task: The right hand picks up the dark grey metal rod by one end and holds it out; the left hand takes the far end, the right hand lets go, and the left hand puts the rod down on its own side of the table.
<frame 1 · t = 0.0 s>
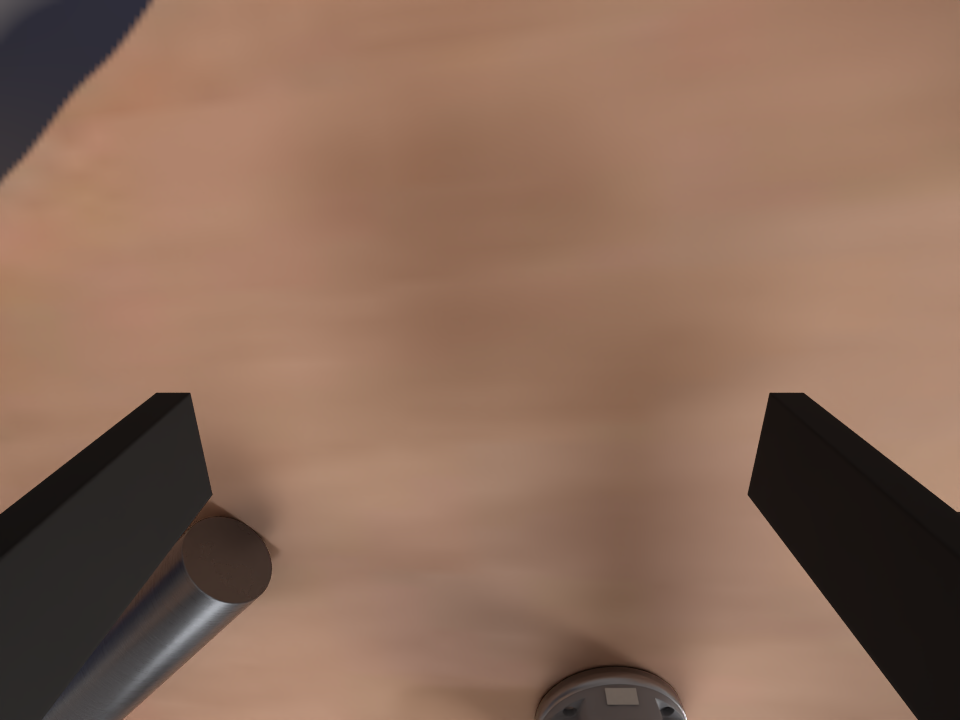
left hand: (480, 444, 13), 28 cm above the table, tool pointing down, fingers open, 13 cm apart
rod: (164, 607, 51), on the table
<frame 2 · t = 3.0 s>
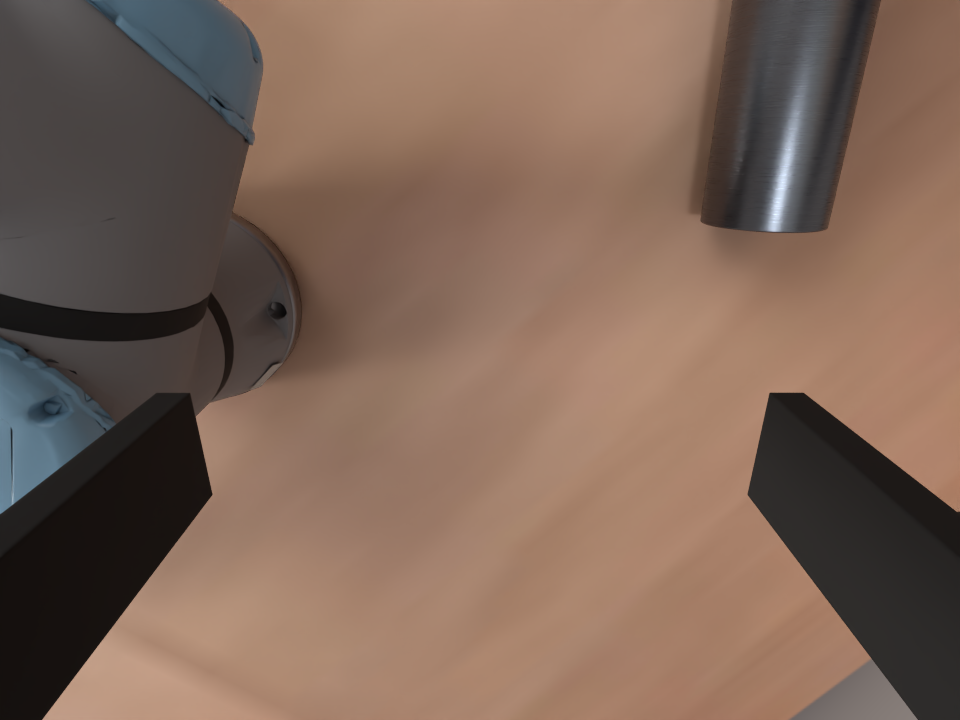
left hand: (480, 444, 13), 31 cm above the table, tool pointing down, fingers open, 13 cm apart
rod: (771, 10, 36), on the table, touching right hand
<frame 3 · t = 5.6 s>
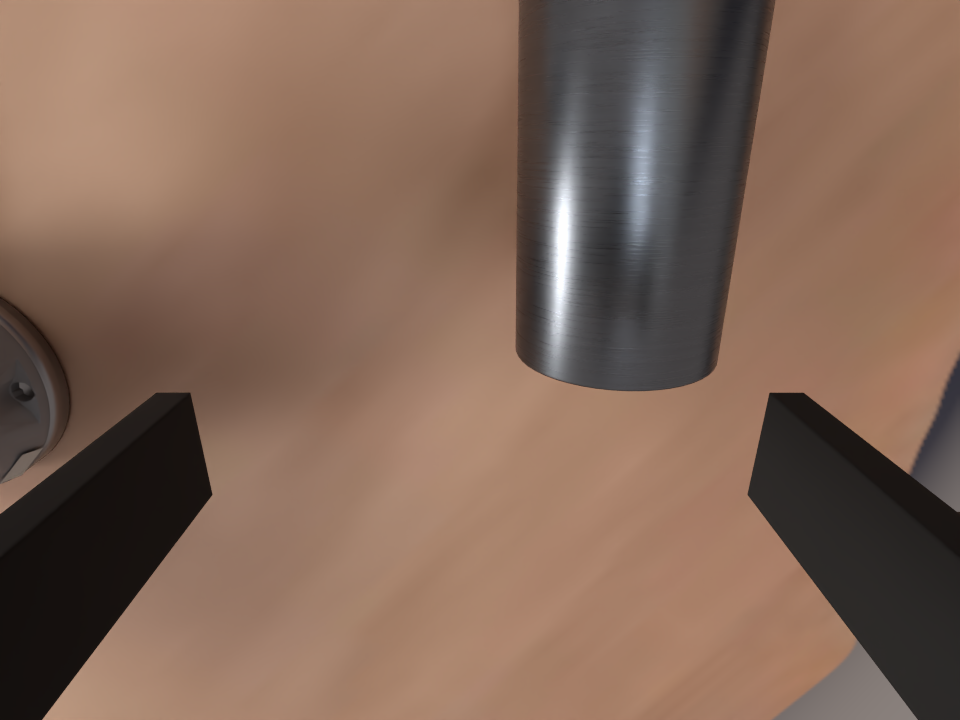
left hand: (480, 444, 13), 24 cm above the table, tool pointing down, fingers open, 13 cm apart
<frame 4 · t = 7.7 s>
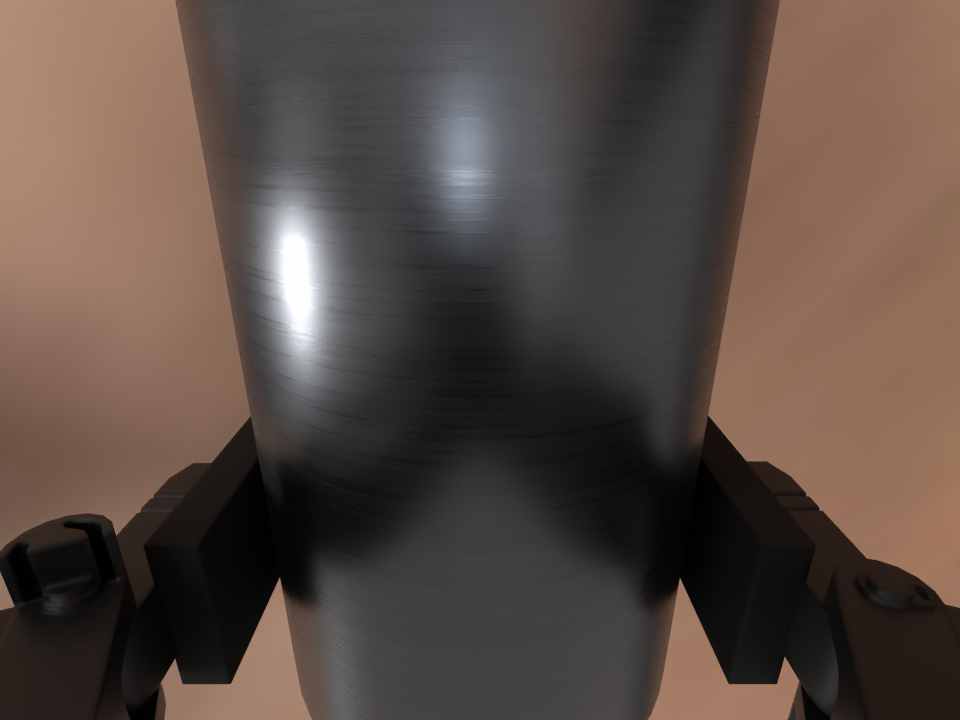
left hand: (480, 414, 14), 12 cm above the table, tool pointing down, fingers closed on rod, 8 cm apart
when the right hand's fingers open (11 cm above the table, at t = 8.6 s): rod stays where it is, held by the left hand.
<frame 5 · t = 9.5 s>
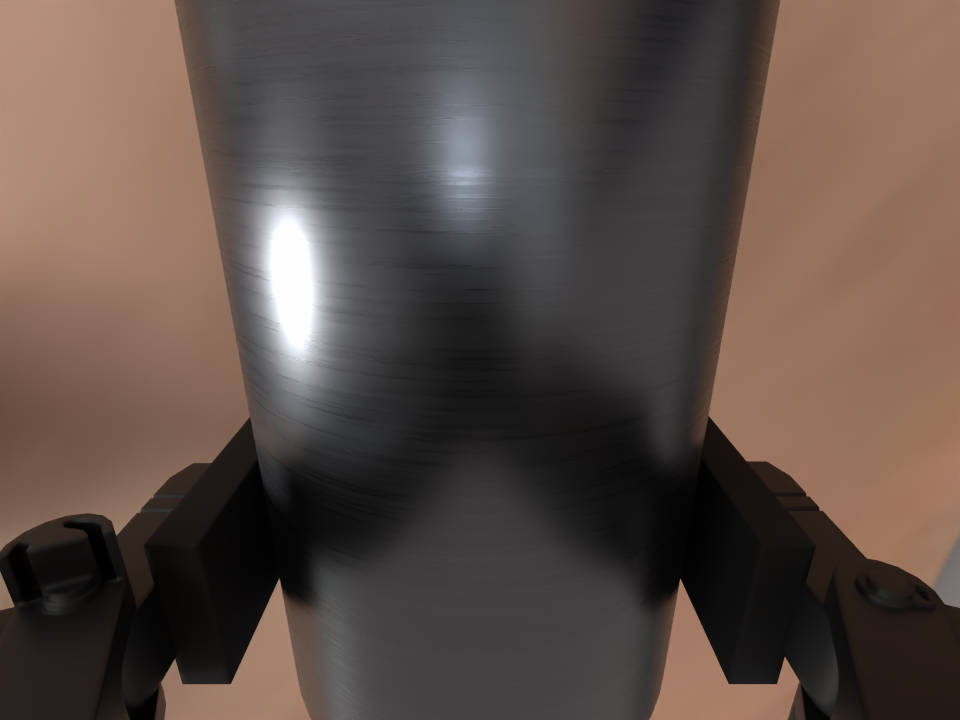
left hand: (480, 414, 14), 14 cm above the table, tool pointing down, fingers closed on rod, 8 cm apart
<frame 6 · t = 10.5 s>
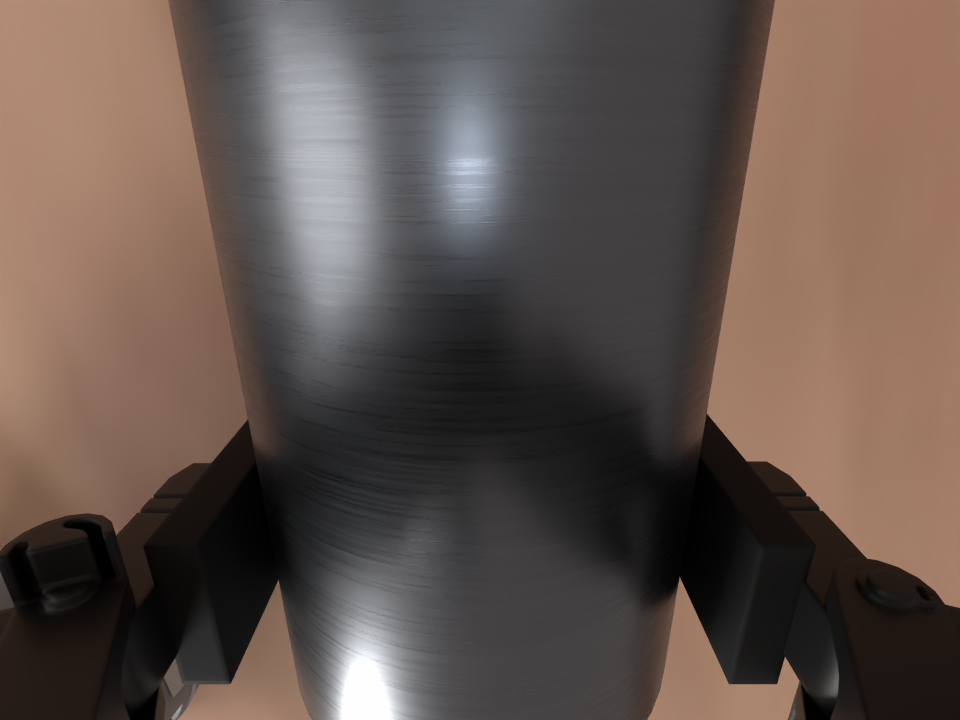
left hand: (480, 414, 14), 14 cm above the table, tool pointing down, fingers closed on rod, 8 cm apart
when the left hand's fingers open (2 cm above the table, at t = 13.6 s): rod drops 1 cm, on the table.
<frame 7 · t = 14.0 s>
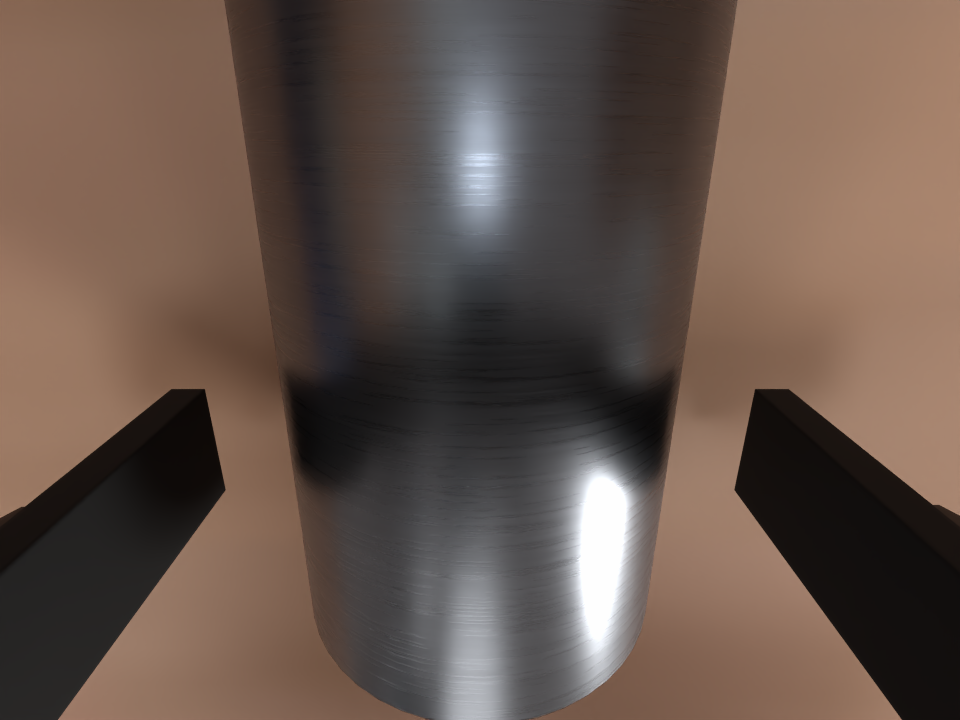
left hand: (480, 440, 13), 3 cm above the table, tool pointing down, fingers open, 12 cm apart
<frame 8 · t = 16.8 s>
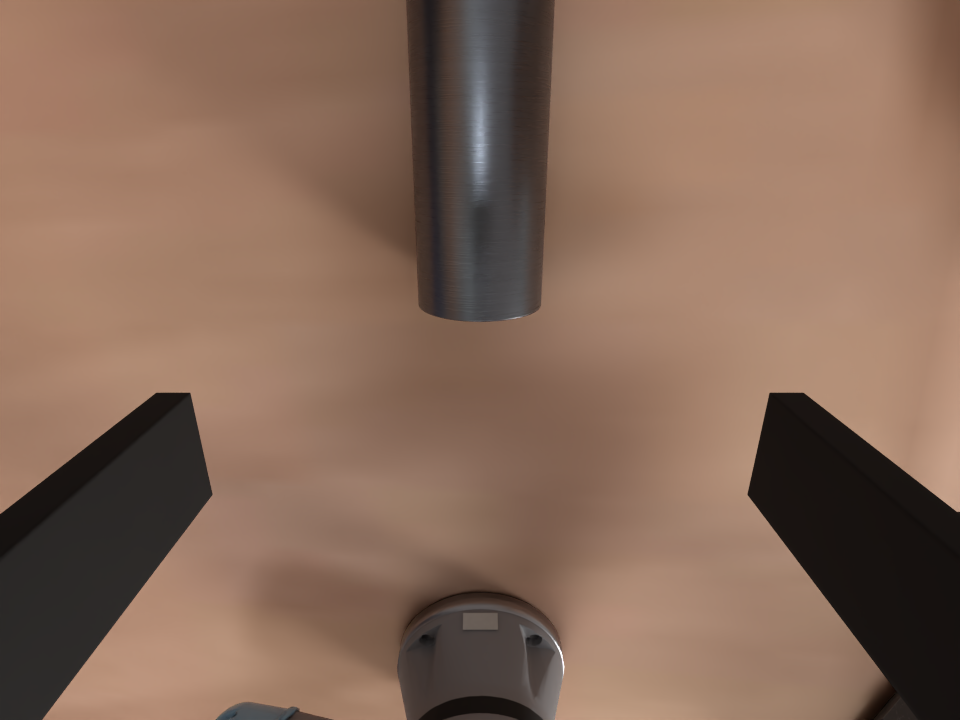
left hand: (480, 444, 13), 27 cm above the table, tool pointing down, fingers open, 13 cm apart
rod: (479, 78, 34), on the table
laser sight: (886, 716, 55), on the table
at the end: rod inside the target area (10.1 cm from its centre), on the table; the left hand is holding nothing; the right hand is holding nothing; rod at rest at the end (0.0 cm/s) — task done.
